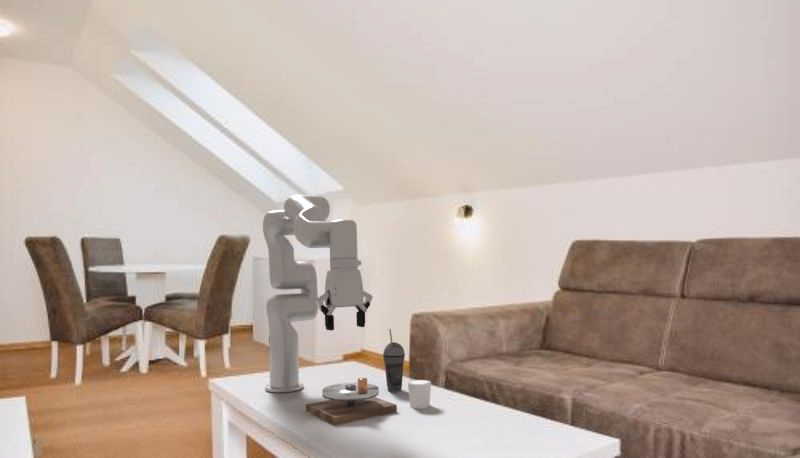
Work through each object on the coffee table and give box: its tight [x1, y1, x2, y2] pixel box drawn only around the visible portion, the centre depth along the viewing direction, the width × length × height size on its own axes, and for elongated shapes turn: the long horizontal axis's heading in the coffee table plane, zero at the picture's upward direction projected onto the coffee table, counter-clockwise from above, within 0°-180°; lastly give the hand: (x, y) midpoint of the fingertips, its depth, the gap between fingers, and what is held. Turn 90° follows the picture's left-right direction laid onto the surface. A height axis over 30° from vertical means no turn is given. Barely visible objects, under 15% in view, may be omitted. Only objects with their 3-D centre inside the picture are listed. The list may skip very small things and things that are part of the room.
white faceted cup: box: [407, 379, 432, 409], centre depth 169 cm, size 7×7×7 cm
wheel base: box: [305, 396, 398, 426], centre depth 164 cm, size 17×20×5 cm
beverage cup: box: [382, 328, 406, 393], centre depth 189 cm, size 7×7×20 cm
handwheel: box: [321, 377, 380, 401], centre depth 164 cm, size 16×16×5 cm
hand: (345, 328), depth 156 cm, fingers open, 9 cm apart
